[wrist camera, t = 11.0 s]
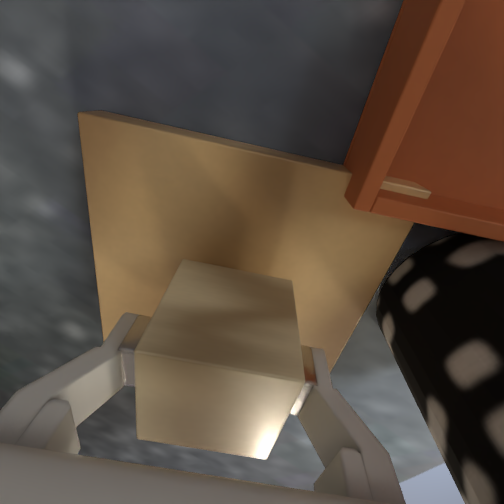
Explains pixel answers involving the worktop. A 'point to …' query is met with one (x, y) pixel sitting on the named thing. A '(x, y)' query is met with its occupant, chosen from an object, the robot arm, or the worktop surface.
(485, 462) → the white-spotted black cylinder
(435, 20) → the orange-brown tray
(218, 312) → the block
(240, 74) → the worktop surface
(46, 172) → the worktop surface
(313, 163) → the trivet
